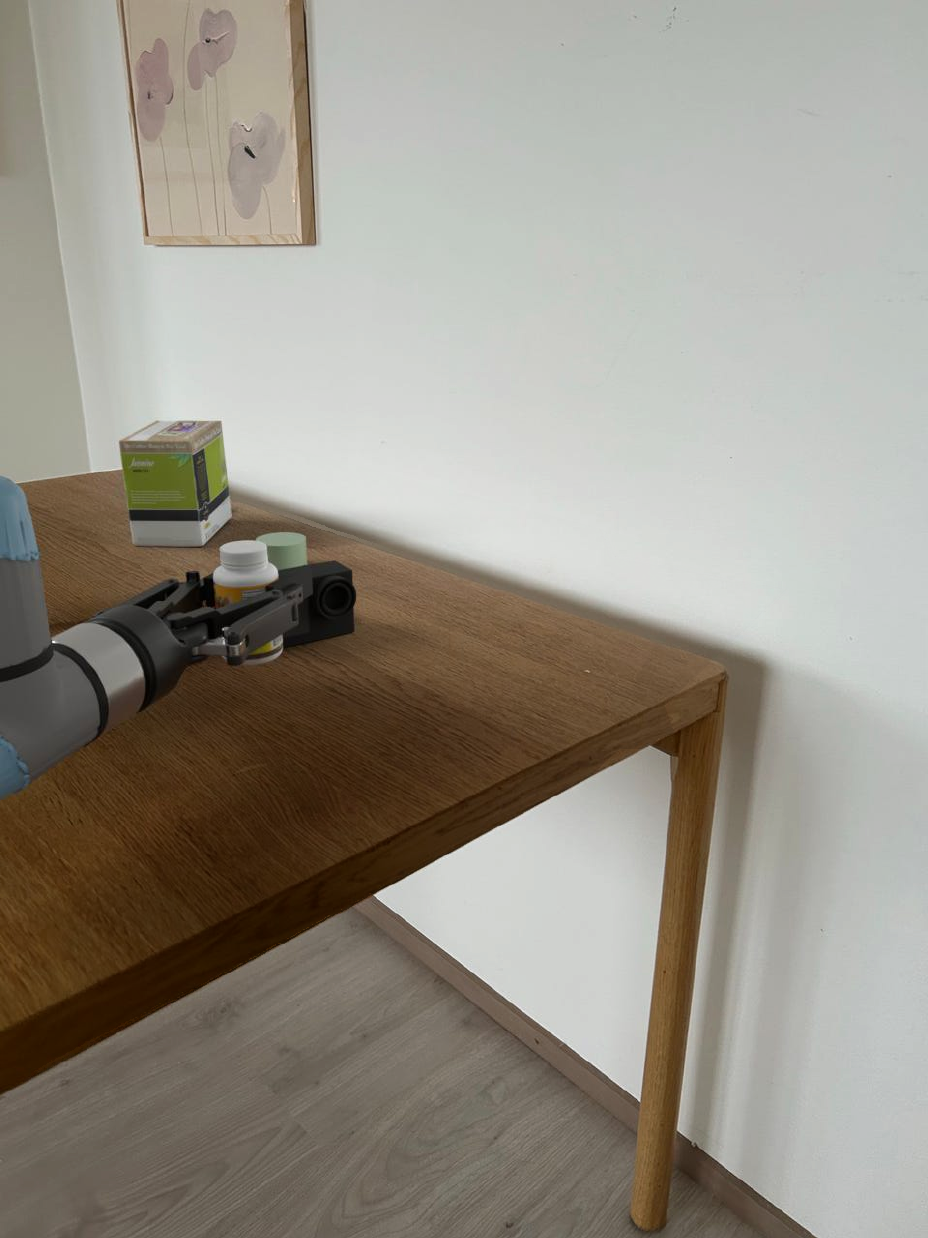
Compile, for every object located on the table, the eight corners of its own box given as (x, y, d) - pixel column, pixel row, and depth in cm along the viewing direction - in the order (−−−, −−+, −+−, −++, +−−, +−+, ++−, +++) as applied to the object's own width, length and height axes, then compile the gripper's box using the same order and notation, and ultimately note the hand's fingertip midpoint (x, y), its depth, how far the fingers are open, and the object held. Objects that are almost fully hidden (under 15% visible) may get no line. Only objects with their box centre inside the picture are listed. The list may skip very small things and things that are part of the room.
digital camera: (267, 657, 94) (262, 590, 92) (246, 639, 98) (240, 575, 96) (360, 636, 99) (358, 572, 97) (337, 620, 104) (334, 558, 101)
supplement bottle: (214, 650, 87) (203, 541, 83) (273, 640, 89) (266, 534, 85) (228, 672, 82) (218, 558, 78) (291, 661, 84) (284, 550, 81)
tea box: (166, 517, 143) (156, 418, 137) (233, 519, 142) (225, 419, 137) (130, 547, 129) (116, 437, 123) (203, 548, 128) (193, 438, 123)
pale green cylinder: (254, 573, 118) (251, 534, 117) (302, 568, 121) (300, 530, 119) (263, 588, 113) (260, 548, 111) (313, 582, 115) (311, 543, 114)
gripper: (14, 697, 72) (197, 601, 92) (223, 739, 66) (370, 626, 86) (-3, 604, 70) (189, 526, 90) (213, 639, 63) (368, 546, 84)
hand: (278, 575), depth 88 cm, fingers closed on supplement bottle, 6 cm apart
